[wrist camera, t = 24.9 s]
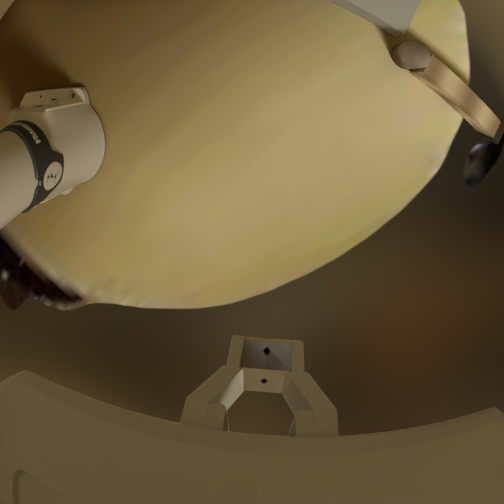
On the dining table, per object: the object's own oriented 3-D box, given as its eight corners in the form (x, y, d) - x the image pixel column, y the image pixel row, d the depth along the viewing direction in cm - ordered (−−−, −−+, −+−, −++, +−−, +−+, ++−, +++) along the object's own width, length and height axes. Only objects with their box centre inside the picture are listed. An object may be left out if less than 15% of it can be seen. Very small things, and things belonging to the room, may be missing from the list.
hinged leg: (387, 58, 26) (400, 56, 22) (397, 39, 24) (410, 34, 21) (481, 138, 29) (498, 145, 25) (490, 120, 27) (507, 126, 23)
